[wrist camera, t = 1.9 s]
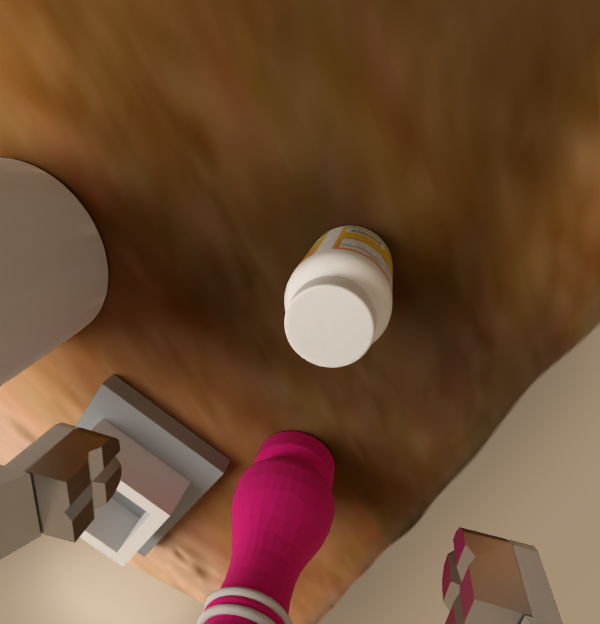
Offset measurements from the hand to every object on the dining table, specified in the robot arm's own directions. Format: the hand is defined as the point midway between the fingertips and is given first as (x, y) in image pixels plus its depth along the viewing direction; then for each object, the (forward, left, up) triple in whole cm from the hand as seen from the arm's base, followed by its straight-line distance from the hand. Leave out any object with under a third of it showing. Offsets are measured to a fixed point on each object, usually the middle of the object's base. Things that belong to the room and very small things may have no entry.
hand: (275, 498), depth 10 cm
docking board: (-3, -27, -19) cm, 33 cm away
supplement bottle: (0, 0, -19) cm, 19 cm away
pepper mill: (+7, -15, -19) cm, 25 cm away
